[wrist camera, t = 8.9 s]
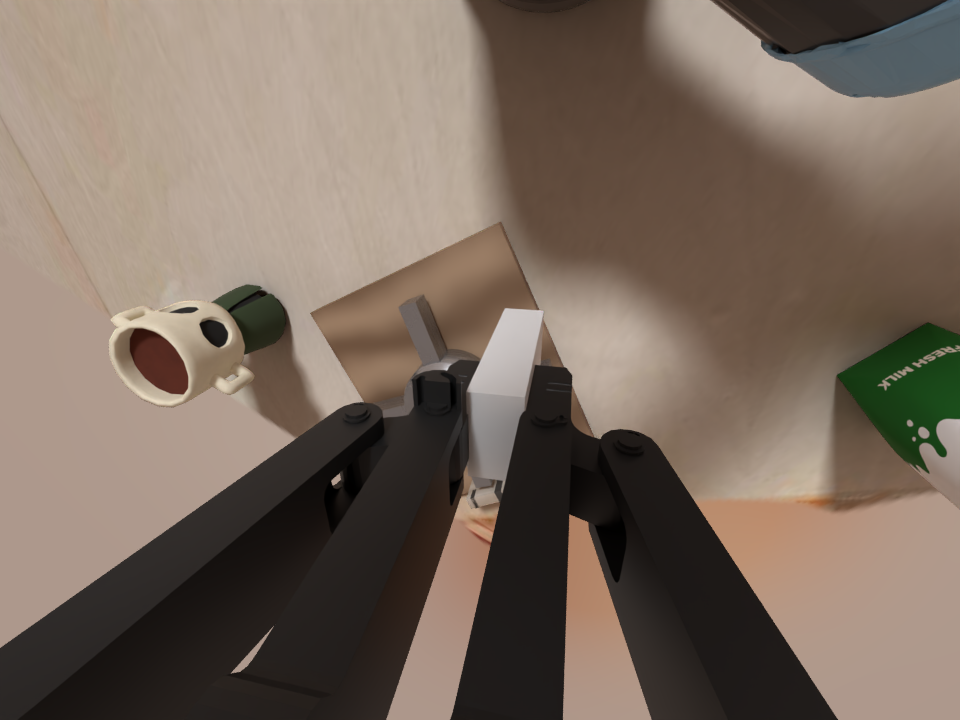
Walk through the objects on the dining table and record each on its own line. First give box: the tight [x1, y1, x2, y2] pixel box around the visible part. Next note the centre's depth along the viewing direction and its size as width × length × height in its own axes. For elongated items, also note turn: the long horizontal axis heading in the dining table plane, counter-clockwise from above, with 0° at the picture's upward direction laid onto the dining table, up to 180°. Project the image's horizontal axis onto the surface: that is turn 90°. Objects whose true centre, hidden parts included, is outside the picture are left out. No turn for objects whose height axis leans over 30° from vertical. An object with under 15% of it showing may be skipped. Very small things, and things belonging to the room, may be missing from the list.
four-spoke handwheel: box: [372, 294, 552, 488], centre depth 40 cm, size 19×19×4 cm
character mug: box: [109, 285, 286, 407], centre depth 38 cm, size 11×7×13 cm, turn 58°
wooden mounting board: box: [310, 222, 594, 509], centre depth 41 cm, size 24×20×4 cm
